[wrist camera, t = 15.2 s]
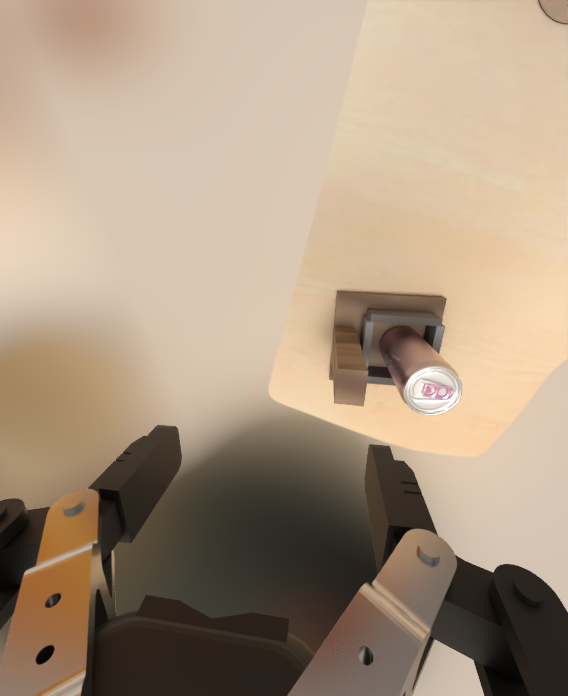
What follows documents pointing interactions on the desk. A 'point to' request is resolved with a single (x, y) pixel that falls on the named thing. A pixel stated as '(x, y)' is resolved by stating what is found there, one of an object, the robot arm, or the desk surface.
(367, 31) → the desk surface
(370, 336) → the post holder
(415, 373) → the beverage can
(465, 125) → the desk surface
